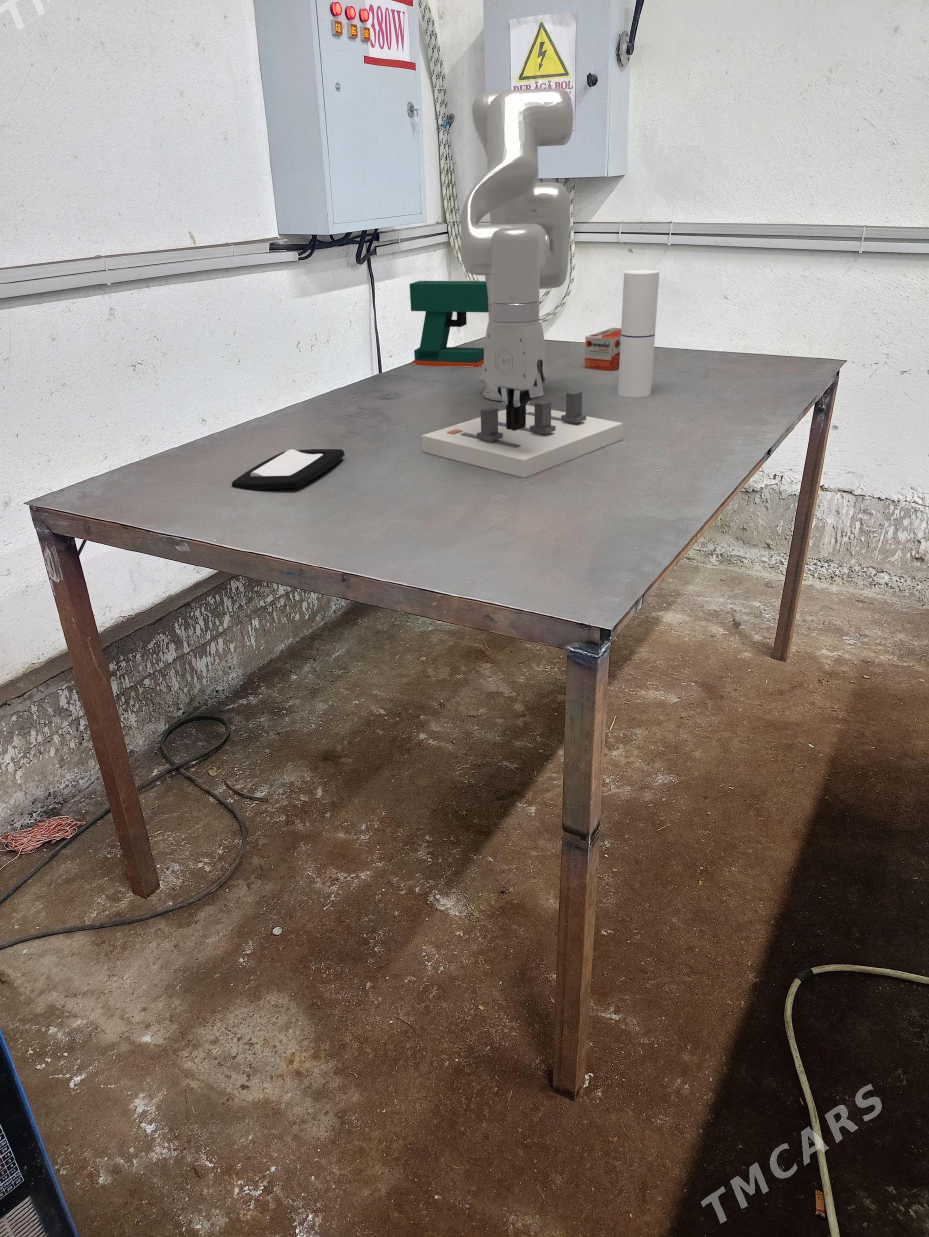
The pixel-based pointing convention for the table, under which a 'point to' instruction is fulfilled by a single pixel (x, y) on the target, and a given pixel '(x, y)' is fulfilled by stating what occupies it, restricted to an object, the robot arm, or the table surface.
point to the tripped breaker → (489, 424)
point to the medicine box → (603, 350)
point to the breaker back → (573, 407)
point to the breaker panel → (522, 443)
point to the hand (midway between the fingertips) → (516, 428)
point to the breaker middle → (542, 418)
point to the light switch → (288, 469)
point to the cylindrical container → (638, 332)
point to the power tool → (447, 320)
